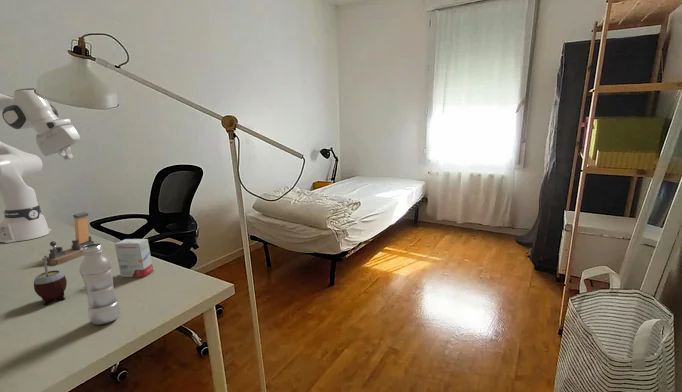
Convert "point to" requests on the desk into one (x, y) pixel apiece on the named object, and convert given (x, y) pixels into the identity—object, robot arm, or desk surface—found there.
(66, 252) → the switch panel
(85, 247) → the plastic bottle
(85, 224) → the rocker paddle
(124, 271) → the ink box
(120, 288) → the desk surface
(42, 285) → the mate gourd
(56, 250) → the toggle lever
